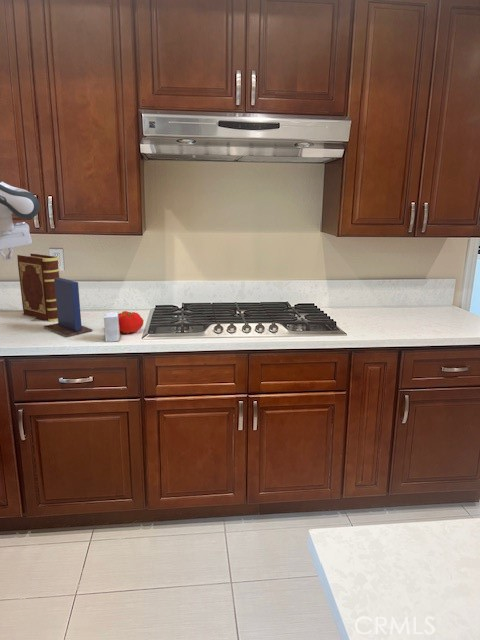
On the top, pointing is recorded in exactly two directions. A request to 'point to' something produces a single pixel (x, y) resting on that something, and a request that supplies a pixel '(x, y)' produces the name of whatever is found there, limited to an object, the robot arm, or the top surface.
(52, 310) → the decorative book
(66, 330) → the brown flat board
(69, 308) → the book
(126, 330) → the tomato
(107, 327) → the small box
